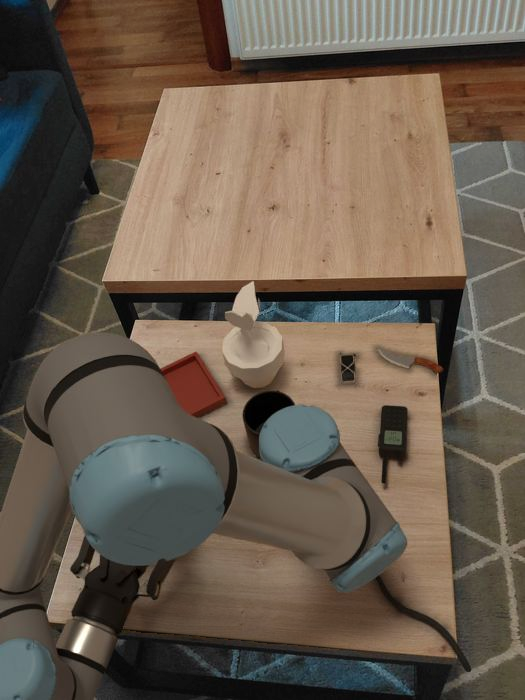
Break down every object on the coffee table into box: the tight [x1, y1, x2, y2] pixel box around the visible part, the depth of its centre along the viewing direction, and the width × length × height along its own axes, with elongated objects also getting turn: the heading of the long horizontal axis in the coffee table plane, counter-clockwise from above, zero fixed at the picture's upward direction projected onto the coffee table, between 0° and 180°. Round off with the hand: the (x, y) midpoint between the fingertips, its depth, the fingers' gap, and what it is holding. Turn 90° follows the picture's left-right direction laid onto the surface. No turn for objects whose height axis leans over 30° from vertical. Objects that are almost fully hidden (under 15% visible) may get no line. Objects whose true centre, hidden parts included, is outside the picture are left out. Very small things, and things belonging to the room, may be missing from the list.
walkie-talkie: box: [377, 404, 408, 485], centre depth 113 cm, size 5×3×15 cm
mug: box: [241, 389, 296, 459], centre depth 116 cm, size 9×12×9 cm
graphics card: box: [339, 352, 357, 385], centre depth 126 cm, size 7×1×3 cm
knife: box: [377, 349, 444, 374], centre depth 126 cm, size 13×1×3 cm
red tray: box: [160, 351, 228, 419], centre depth 127 cm, size 14×13×2 cm
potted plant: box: [221, 280, 285, 389], centre depth 119 cm, size 13×12×25 cm
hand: (158, 481), depth 103 cm, fingers closed on red cup, 8 cm apart
